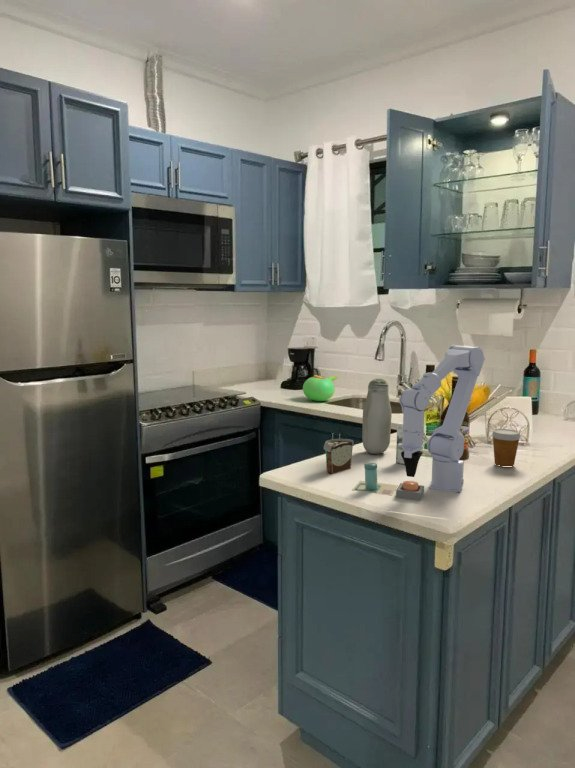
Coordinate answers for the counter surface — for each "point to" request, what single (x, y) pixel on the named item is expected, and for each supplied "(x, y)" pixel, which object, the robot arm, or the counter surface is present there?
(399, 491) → the button housing
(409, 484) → the button
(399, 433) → the syrup box
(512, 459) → the disposable coffee cup
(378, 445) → the grey bottle
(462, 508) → the counter surface
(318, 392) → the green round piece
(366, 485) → the teal rounded cylinder
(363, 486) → the card sheet
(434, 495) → the counter surface
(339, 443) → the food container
